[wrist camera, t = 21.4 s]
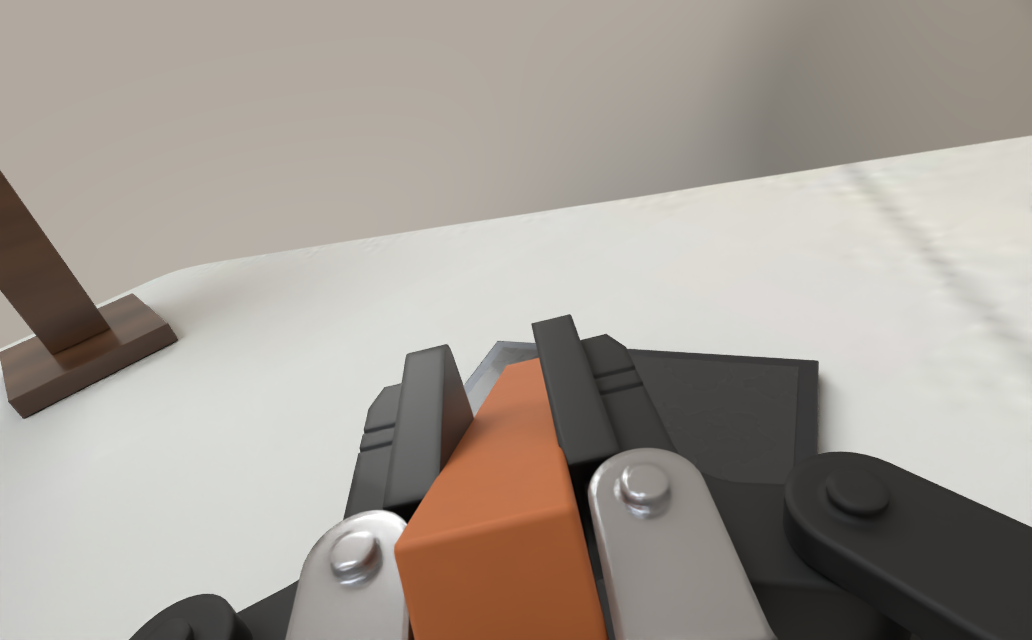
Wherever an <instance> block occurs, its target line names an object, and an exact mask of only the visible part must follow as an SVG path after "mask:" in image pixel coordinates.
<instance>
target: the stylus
mask: <svg viewBox="0 0 1032 640" xmlns="http://www.w3.org/2000/svg"><path fill="white" fill-rule="evenodd" d="M394 556H395V560H396V564H397V568H398V572H399V576H400V581H401V585H402V589H403V593H404V597H405V601H406V605H407V610H408V614H409V618H410V622H411V626H412V630H413V634H414V639H415V640H609V637H608V632H607V628H606V624H605V619H604V615H603V611H602V606H601V602H600V598H599V593H598V589H597V585H596V580H595V576H594V572H593V567H592V563H591V559H590V554H589V550H588V546H587V542H586V538H585V534H584V530H583V526H582V522H581V518H580V514H579V510H578V506H577V501H576V497H575V493H574V489H573V485H572V481H571V477H570V473H569V469H568V465H567V461H566V457H565V454H564V452H563V450H562V448H560V447H559V445H558V440H557V436H556V431H555V427H554V423H553V418H552V414H551V409H550V405H549V400H548V396H547V391H546V387H545V382H544V378H543V374H542V369H541V365H540V360H539V358H535V359H531V360H527V361H523V362H519V363H515V364H511V365H507V366H506V367H505V369H504V370H503V372H502V373H501V375H500V377H499V378H498V380H497V381H496V383H495V385H494V386H493V388H492V389H491V391H490V393H489V394H488V396H487V397H486V399H485V401H484V402H483V404H482V405H481V407H480V409H479V410H478V412H477V414H476V415H475V417H474V419H473V421H472V423H471V424H470V426H469V428H468V429H467V431H466V432H465V434H464V436H463V437H462V439H461V440H460V442H459V444H458V445H457V447H456V449H455V450H454V452H453V453H452V455H451V457H450V458H449V460H448V462H447V463H446V465H445V466H444V468H443V470H442V471H441V473H440V475H439V476H437V478H436V479H435V481H434V482H433V484H432V486H431V487H430V489H429V490H428V492H427V494H426V495H425V497H424V498H423V500H422V502H421V503H420V505H419V507H418V508H417V510H416V511H415V513H414V515H413V516H412V518H411V519H410V521H409V523H408V524H407V526H406V527H405V529H404V531H403V532H402V534H401V535H400V537H399V539H398V540H397V542H396V543H395V547H394Z"/></svg>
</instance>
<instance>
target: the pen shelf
mask: <svg viewBox="0 0 1032 640" xmlns="http://www.w3.org/2000/svg"><path fill="white" fill-rule="evenodd" d="M0 290H1V292H2V293H3V294H4V295H5V297H6V298H7V299H8V300H9V302H10V303H11V304H12V305H13V307H14V308H15V309H16V311H17V312H18V313H19V314H20V316H21V317H22V318H23V319H24V321H25V322H26V323H27V325H28V326H29V327H30V328H31V330H32V331H33V332H34V333H35V335H36V336H35V337H33V338H31V339H29V340H26V341H24V342H22V343H20V344H17V345H15V346H13V347H11V348H8V349H6V350H4V351H2V352H0V360H1V366H2V371H3V376H4V381H5V386H6V391H7V396H8V402H9V403H10V404H11V405H12V406H13V408H14V409H15V410H16V411H17V412H18V413H19V414H20V416H21V417H22V418H26V417H28V416H29V415H31V414H33V413H35V412H37V411H39V410H41V409H43V408H45V407H47V406H49V405H51V404H53V403H55V402H57V401H59V400H61V399H63V398H65V397H67V396H69V395H71V394H73V393H75V392H77V391H79V390H81V389H83V388H85V387H86V386H88V385H90V384H92V383H94V382H96V381H98V380H100V379H102V378H104V377H106V376H108V375H110V374H112V373H114V372H116V371H118V370H120V369H122V368H124V367H126V366H128V365H130V364H132V363H134V362H136V361H138V360H140V359H142V358H144V357H145V356H147V355H149V354H151V353H153V352H155V351H157V350H159V349H161V348H163V347H165V346H167V345H169V344H171V343H173V342H175V341H177V340H178V339H177V337H176V335H175V334H174V332H173V331H172V329H171V328H170V326H169V324H168V323H167V322H165V321H164V320H163V319H162V318H161V317H160V316H158V315H157V314H156V313H155V312H154V311H153V310H151V309H150V308H149V307H148V306H147V305H146V304H144V303H143V302H142V301H141V300H140V299H139V298H137V297H136V296H135V295H134V294H130V295H127V296H125V297H123V298H121V299H118V300H116V301H114V302H112V303H109V304H107V305H105V306H103V307H100V308H98V309H97V308H96V306H95V305H94V303H93V302H92V301H91V299H90V298H89V296H88V295H87V293H86V292H85V290H84V289H83V288H82V286H81V285H80V284H79V282H78V280H77V279H76V278H75V276H74V275H73V273H72V272H71V271H70V269H69V268H68V266H67V265H66V263H65V262H64V260H63V259H62V258H61V256H60V255H59V254H58V252H57V251H56V249H55V248H54V246H53V245H52V243H51V242H50V241H49V239H48V238H47V236H46V235H45V233H44V232H43V231H42V229H41V228H40V226H39V225H38V223H37V222H36V221H35V219H34V218H33V216H32V215H31V213H30V212H29V211H28V209H27V208H26V206H25V205H24V204H23V202H22V201H21V199H20V198H19V196H18V195H17V193H16V192H15V191H14V189H13V188H12V186H11V185H10V184H9V182H8V181H7V179H6V178H5V176H4V175H3V173H2V172H1V171H0Z"/></svg>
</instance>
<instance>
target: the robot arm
mask: <svg viewBox="0 0 1032 640" xmlns="http://www.w3.org/2000/svg"><path fill="white" fill-rule="evenodd" d="M532 329H533V334H534V338H535V342H536V347H537V351H538V356H539V360H540V365H541V369H542V374H543V378H544V382H545V387H546V391H547V396H548V400H549V405H550V409H551V414H552V418H553V423H554V427H555V431H556V436H557V440H558V445H559V447H560V448H562V450H563V452H564V454H565V457H566V461H567V465H568V469H569V473H570V477H571V481H572V485H573V489H574V493H575V497H576V501H577V506H578V510H579V514H580V518H581V522H582V526H583V530H584V534H585V538H586V542H587V546H588V550H589V554H590V559H591V563H592V567H593V572H594V576H595V580H599V579H604V582H605V587H606V593H607V598H608V603H609V608H610V613H611V618H612V623H613V629H614V634H615V639H616V640H1032V527H1030V526H1028V525H1026V524H1023V523H1021V522H1019V521H1017V520H1015V519H1012V518H1010V517H1008V516H1006V515H1004V514H1001V513H999V512H997V511H995V510H992V509H990V508H988V507H986V506H984V505H981V504H979V503H977V502H975V501H973V500H970V499H968V498H966V497H964V496H962V495H959V494H957V493H955V492H953V491H951V490H948V489H946V488H944V487H942V486H939V485H937V484H935V483H933V482H931V481H928V480H926V479H924V478H922V477H920V476H917V475H915V474H913V473H911V472H909V471H906V470H904V469H902V468H900V467H898V466H895V465H893V464H891V463H889V462H886V461H884V460H881V459H878V458H875V457H872V456H868V455H864V454H858V453H853V452H828V453H822V454H817V455H814V456H811V457H808V458H806V459H804V460H803V461H801V462H799V463H798V464H797V465H796V466H794V467H793V468H792V470H791V471H790V472H789V474H788V476H787V478H786V480H785V484H770V483H744V482H733V481H728V480H723V479H719V478H716V477H713V476H710V475H708V474H705V473H703V472H701V471H699V470H698V469H697V468H696V467H695V466H694V465H693V464H692V463H691V462H690V461H688V460H687V459H685V458H684V457H682V456H681V455H680V454H679V453H678V451H677V450H676V448H675V446H674V444H673V442H672V440H671V438H670V436H669V434H668V432H667V430H666V428H665V426H664V424H663V422H662V420H661V418H660V416H659V414H658V412H657V410H656V408H655V406H654V404H653V401H652V399H651V397H650V395H649V393H648V391H647V389H646V387H645V385H643V381H642V379H641V377H640V375H639V373H638V371H637V369H636V368H635V365H634V363H633V361H632V359H631V357H630V355H629V352H628V350H627V348H626V347H625V346H624V345H622V344H621V343H619V342H618V341H616V340H615V339H613V338H612V337H610V336H609V335H607V334H604V335H600V336H596V337H592V338H588V339H584V340H580V339H579V336H578V333H577V330H576V327H575V325H574V322H573V319H572V316H571V315H570V314H569V315H565V316H561V317H557V318H553V319H549V320H544V321H540V322H536V323H532ZM473 419H474V416H473V412H472V409H471V406H470V403H469V400H468V398H467V395H466V392H465V389H464V386H463V383H462V380H461V377H460V374H459V371H458V368H457V366H456V363H455V360H454V357H453V354H452V352H451V349H450V347H449V346H448V345H447V344H445V345H441V346H437V347H433V348H429V349H425V350H421V351H417V352H412V353H408V354H407V355H406V359H405V365H404V372H403V378H402V383H401V384H397V385H393V386H388V387H384V389H383V390H382V391H381V393H380V394H379V395H378V397H377V398H376V399H375V401H374V402H373V403H372V405H371V406H370V408H369V410H368V414H367V418H366V423H365V427H364V433H365V434H363V436H362V440H361V444H360V453H358V458H357V462H356V466H355V471H354V475H353V479H352V484H351V488H350V492H349V497H348V501H347V506H346V510H345V514H344V519H343V521H341V522H340V523H338V524H337V525H335V526H334V527H333V528H331V529H330V530H329V531H327V532H326V533H325V534H324V535H323V536H322V537H321V538H320V539H319V540H318V542H317V543H316V544H315V545H314V546H313V548H312V549H311V551H310V552H309V554H308V556H307V558H306V560H305V562H304V564H303V567H302V571H301V575H300V579H299V580H298V581H296V582H294V583H293V584H291V585H289V586H288V587H286V588H284V589H282V590H280V591H278V592H276V593H274V594H272V595H271V596H269V597H267V598H265V599H263V600H261V601H259V602H257V603H255V604H253V605H251V606H249V607H247V608H246V609H244V610H242V611H240V612H238V613H236V612H235V611H234V609H233V608H232V607H231V606H230V604H229V603H228V602H227V601H226V600H225V599H224V598H222V597H221V596H218V595H214V594H201V595H195V596H192V597H188V598H186V599H183V600H181V601H179V602H176V603H175V604H173V605H171V606H169V607H167V608H166V609H164V610H163V611H161V612H160V613H158V614H157V615H155V616H154V617H153V618H152V619H151V620H149V621H148V622H147V623H146V624H145V625H143V626H142V627H141V628H140V629H139V630H138V631H137V632H136V633H135V634H134V635H133V636H132V637H131V638H130V639H129V640H415V639H414V634H413V630H412V626H411V622H410V618H409V614H408V610H407V605H406V601H405V597H404V593H403V589H402V585H401V581H400V576H399V572H398V568H397V564H396V560H395V556H394V547H395V543H396V542H397V540H398V539H399V537H400V535H401V534H402V532H403V531H404V529H405V527H406V526H407V524H408V523H409V521H410V519H411V518H412V516H413V515H414V513H415V511H416V510H417V508H418V507H419V505H420V503H421V502H422V500H423V498H424V497H425V495H426V494H427V492H428V490H429V489H430V487H431V486H432V484H433V482H434V481H435V479H436V478H437V476H439V475H440V473H441V471H442V470H443V468H444V466H445V465H446V463H447V462H448V460H449V458H450V457H451V455H452V453H453V452H454V450H455V449H456V447H457V445H458V444H459V442H460V440H461V439H462V437H463V436H464V434H465V432H466V431H467V429H468V428H469V426H470V424H471V423H472V421H473Z"/></svg>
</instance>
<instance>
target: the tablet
mask: <svg viewBox="0 0 1032 640" xmlns="http://www.w3.org/2000/svg"><path fill="white" fill-rule="evenodd" d="M627 350H628V352H629V355H630V357H631V359H632V361H633V363H634V365H635V368H636V369H637V371H638V373H639V375H640V377H641V379H642V381H643V385H645V387H646V389H647V391H648V393H649V395H650V397H651V399H652V401H653V404H654V406H655V408H656V410H657V412H658V414H659V416H660V418H661V420H662V422H663V424H664V426H665V428H666V430H667V432H668V434H669V436H670V438H671V440H672V442H673V444H674V446H675V448H676V450H677V451H678V453H679V454H680V455H681V456H682V457H684V458H685V459H687V460H688V461H690V462H691V463H692V464H693V465H694V466H695V467H696V468H697V469H698V470H699V471H701V472H703V473H705V474H708V475H710V476H713V477H716V478H719V479H723V480H728V481H733V482H744V483H770V484H785V480H786V478H787V476H788V474H789V472H790V471H791V470H792V468H793V467H794V466H796V465H797V464H798V463H799V462H801V461H803V460H804V459H806V458H808V457H811V456H814V455H817V454H818V371H819V362H818V361H815V360H799V359H783V358H767V357H751V356H734V355H718V354H702V353H686V352H670V351H653V350H637V349H627ZM535 358H539V356H538V351H537V347H536V343H524V342H508V341H497V343H496V344H495V345H494V347H493V348H492V349H491V351H490V352H489V353H488V355H487V356H486V357H485V358H484V360H483V361H482V362H481V364H480V365H479V366H478V368H477V369H476V370H475V372H474V373H473V374H472V376H471V377H470V378H469V380H468V381H467V382H466V383H465V385H464V389H465V392H466V395H467V398H468V400H469V403H470V406H471V409H472V412H473V416H474V417H475V415H476V414H477V412H478V410H479V409H480V407H481V405H482V404H483V402H484V401H485V399H486V397H487V396H488V394H489V393H490V391H491V389H492V388H493V386H494V385H495V383H496V381H497V380H498V378H499V377H500V375H501V373H502V372H503V370H504V369H505V367H506V366H507V365H511V364H515V363H519V362H523V361H527V360H531V359H535ZM596 585H597V589H598V593H599V598H600V602H601V606H602V611H603V615H604V619H605V624H606V628H607V632H608V637H609V640H616V639H615V634H614V629H613V623H612V618H611V613H610V608H609V603H608V598H607V593H606V587H605V582H604V579H599V580H596Z"/></svg>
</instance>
